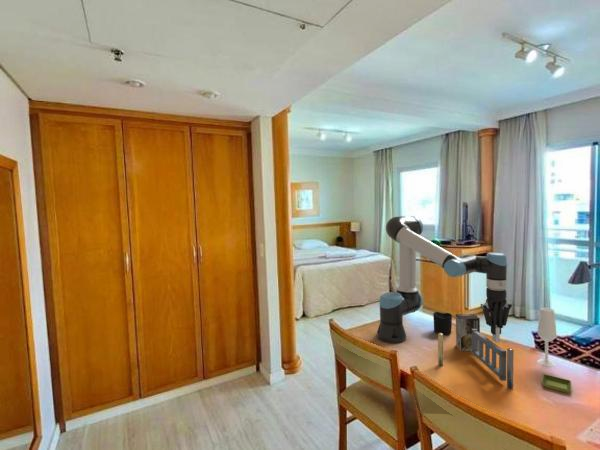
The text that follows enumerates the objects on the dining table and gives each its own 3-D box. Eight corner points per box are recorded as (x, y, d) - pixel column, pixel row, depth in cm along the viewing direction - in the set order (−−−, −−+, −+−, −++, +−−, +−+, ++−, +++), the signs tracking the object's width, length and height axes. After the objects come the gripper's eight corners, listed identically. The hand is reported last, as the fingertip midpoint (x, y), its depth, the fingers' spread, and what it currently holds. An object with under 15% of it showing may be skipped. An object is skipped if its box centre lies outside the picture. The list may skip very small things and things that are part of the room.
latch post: (437, 364, 143) (437, 333, 143) (439, 363, 145) (439, 332, 144) (442, 366, 142) (441, 335, 141) (443, 364, 143) (443, 333, 143)
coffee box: (474, 345, 162) (474, 313, 161) (480, 351, 155) (480, 318, 154) (455, 345, 162) (455, 313, 162) (460, 351, 156) (460, 318, 155)
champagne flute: (536, 358, 147) (537, 306, 145) (555, 361, 143) (556, 308, 142) (537, 364, 141) (537, 310, 140) (556, 368, 138) (557, 312, 136)
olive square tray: (543, 378, 131) (543, 373, 131) (571, 385, 125) (571, 380, 125) (541, 388, 124) (541, 383, 124) (571, 396, 119) (571, 390, 118)
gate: (506, 380, 127) (506, 350, 126) (501, 380, 127) (501, 350, 126) (475, 354, 149) (475, 328, 148) (471, 354, 149) (471, 328, 148)
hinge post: (506, 387, 125) (506, 349, 124) (507, 385, 126) (508, 347, 125) (512, 389, 123) (512, 351, 122) (513, 387, 125) (514, 349, 124)
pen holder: (442, 327, 186) (441, 310, 185) (455, 333, 177) (455, 315, 176) (429, 330, 182) (429, 313, 181) (443, 336, 173) (443, 318, 173)
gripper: (486, 291, 138) (486, 345, 139) (516, 290, 138) (516, 344, 139) (476, 286, 145) (476, 338, 146) (505, 285, 146) (504, 337, 147)
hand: (495, 341), depth 143 cm, fingers closed
